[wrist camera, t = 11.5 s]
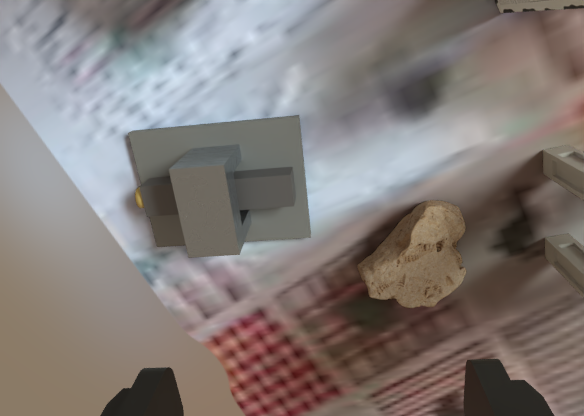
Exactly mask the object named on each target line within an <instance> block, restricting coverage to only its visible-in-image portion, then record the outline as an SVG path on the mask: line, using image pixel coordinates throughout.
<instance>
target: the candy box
mask: <svg viewBox="0 0 584 416" xmlns="http://www.w3.org/2000/svg"><path fill="white" fill-rule="evenodd" d="M495 2H496V4H497V6H498V9H499V11H500V13H512V12H527V11H545V10H563V9H578V8H584V0H495Z"/></svg>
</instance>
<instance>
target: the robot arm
mask: <svg viewBox="0 0 584 416" xmlns="http://www.w3.org/2000/svg"><path fill="white" fill-rule="evenodd" d="M464 414H465V416H554V414H553V413H552V411H551V409H550V408H549V406H548V404H547V402H546V401H545V399H544V397H543V396H542V395H541V394H540V393H539V392H537V391H536V390H535V389H534V388H533V387H532V386H531V385H529V384H528V383H527V382H526V381H525V380H510V378H509V376H508V374H507V372H506V370H505V369H504V367H503V365H502V363H501V362H500V360H498V359H478V360H467V362H466V372H465V388H464ZM101 416H184V413H183V405H182V402H181V398H180V394H179V391H178V387H177V383H176V380H175V376H174V373H173V370H172V369H171V368H169V367H168V368H144V369H142V370H141V371H140V373H139V374H138V376H137V378H136V380H135V382H134V384H133V386H132V387H131V388H126V389H125V388H124V389H122V390H121V391H120V392H119V393H118V394H117V395H116V396H115V397H114V398H113V399H112V400H111V401H110V402H109V403H108V404H107V405H106V407H105V409H104V410H103V412H102V414H101Z"/></svg>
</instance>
